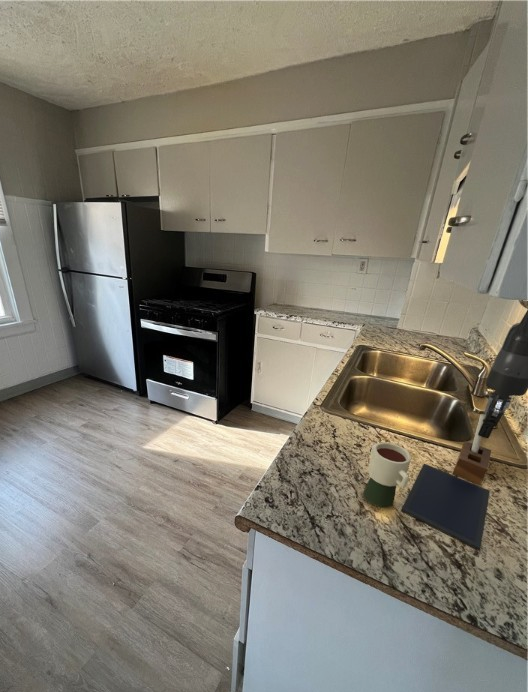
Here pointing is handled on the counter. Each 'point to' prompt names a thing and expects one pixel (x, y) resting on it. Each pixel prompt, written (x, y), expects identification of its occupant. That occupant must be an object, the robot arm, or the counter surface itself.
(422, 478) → the tablet
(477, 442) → the stylus
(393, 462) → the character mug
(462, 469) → the pen stand
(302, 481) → the counter surface
